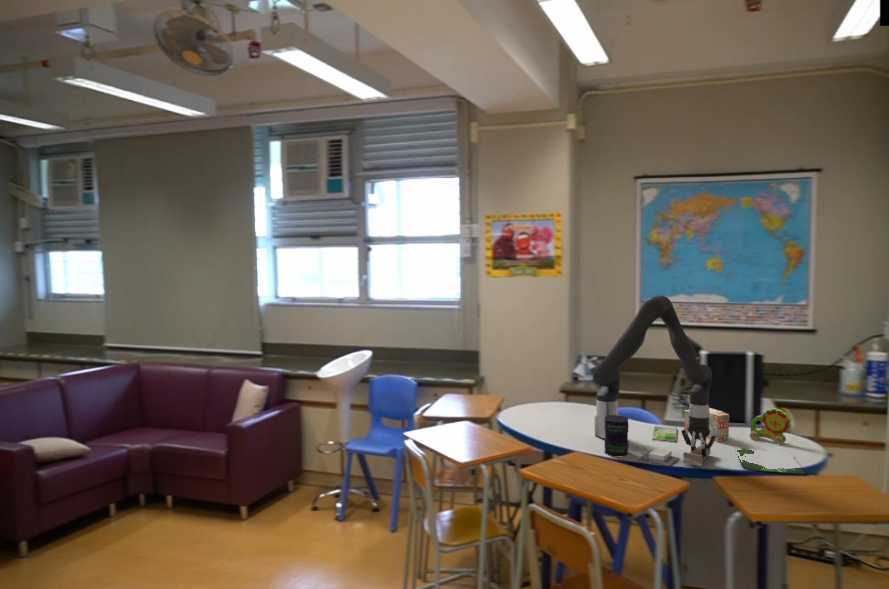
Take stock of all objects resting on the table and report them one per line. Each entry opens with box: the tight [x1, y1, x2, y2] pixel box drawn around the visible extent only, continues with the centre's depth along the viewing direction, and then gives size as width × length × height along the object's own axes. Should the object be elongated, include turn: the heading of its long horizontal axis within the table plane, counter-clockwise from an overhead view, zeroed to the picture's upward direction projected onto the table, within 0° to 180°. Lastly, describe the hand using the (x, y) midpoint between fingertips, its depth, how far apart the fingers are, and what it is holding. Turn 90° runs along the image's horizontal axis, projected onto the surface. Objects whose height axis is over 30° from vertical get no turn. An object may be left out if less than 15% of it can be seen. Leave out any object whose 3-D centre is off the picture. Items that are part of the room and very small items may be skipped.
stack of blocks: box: [683, 407, 730, 443], centre depth 278 cm, size 21×6×12 cm, turn 19°
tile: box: [649, 447, 673, 461], centre depth 249 cm, size 6×2×9 cm
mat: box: [637, 451, 680, 468], centre depth 248 cm, size 13×11×1 cm
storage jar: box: [603, 414, 630, 457], centre depth 257 cm, size 10×10×15 cm
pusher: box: [682, 443, 711, 467], centre depth 246 cm, size 17×7×4 cm, turn 139°
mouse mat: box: [737, 448, 807, 476], centre depth 244 cm, size 27×22×1 cm
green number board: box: [651, 425, 678, 443], centre depth 280 cm, size 20×1×10 cm
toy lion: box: [749, 407, 792, 446], centre depth 266 cm, size 16×6×15 cm, turn 44°
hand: (698, 456), depth 245 cm, fingers closed on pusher, 3 cm apart
